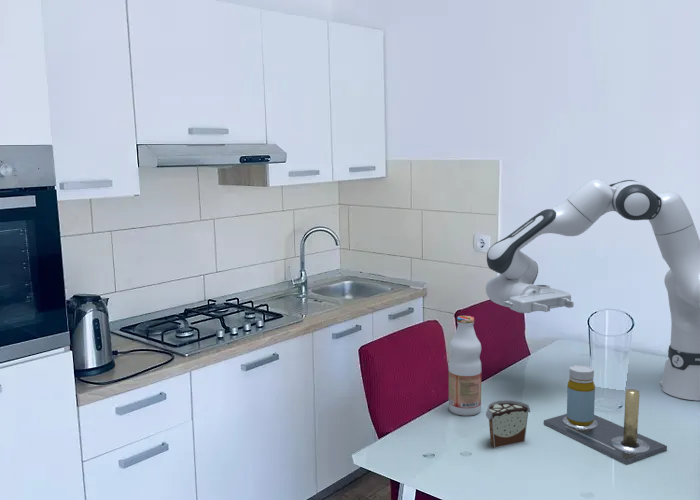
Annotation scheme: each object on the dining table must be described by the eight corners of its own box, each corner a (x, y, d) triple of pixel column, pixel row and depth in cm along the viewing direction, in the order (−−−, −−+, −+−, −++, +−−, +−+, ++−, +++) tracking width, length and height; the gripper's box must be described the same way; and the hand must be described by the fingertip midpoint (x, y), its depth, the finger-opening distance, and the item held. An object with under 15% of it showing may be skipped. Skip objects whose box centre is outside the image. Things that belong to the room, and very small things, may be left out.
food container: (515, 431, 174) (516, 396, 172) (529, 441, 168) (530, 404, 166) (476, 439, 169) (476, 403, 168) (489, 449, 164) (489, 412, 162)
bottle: (595, 427, 172) (597, 373, 170) (568, 425, 173) (570, 372, 171) (591, 417, 179) (593, 365, 177) (565, 415, 180) (566, 364, 178)
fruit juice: (441, 410, 189) (442, 317, 185) (460, 401, 195) (461, 311, 191) (468, 419, 182) (470, 323, 178) (487, 409, 189) (488, 317, 185)
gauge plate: (582, 413, 185) (584, 361, 183) (666, 450, 161) (670, 391, 159) (543, 424, 178) (545, 371, 176) (626, 464, 154) (629, 403, 152)
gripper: (500, 291, 194) (533, 300, 182) (550, 284, 203) (585, 292, 191) (500, 312, 195) (533, 322, 183) (549, 303, 204) (584, 313, 192)
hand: (560, 306), depth 187 cm, fingers open, 8 cm apart
